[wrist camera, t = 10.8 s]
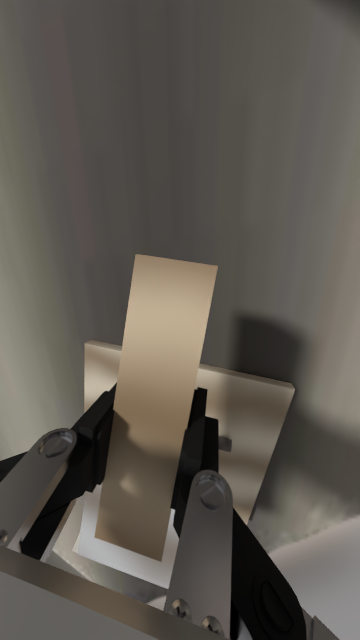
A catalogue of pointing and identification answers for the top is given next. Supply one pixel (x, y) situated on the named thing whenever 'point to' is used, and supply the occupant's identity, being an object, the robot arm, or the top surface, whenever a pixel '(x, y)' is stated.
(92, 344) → the board
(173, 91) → the top surface
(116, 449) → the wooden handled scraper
